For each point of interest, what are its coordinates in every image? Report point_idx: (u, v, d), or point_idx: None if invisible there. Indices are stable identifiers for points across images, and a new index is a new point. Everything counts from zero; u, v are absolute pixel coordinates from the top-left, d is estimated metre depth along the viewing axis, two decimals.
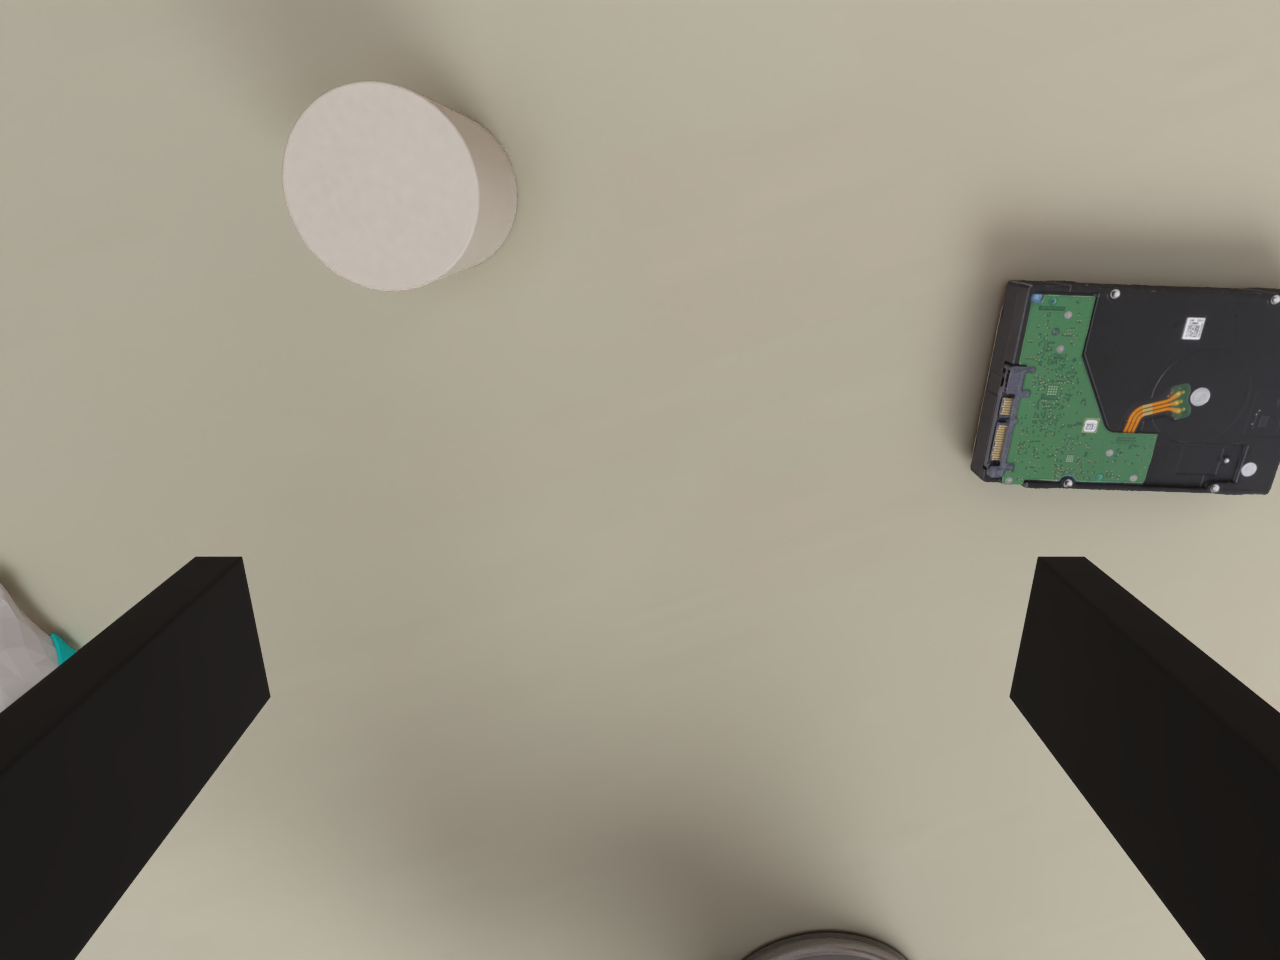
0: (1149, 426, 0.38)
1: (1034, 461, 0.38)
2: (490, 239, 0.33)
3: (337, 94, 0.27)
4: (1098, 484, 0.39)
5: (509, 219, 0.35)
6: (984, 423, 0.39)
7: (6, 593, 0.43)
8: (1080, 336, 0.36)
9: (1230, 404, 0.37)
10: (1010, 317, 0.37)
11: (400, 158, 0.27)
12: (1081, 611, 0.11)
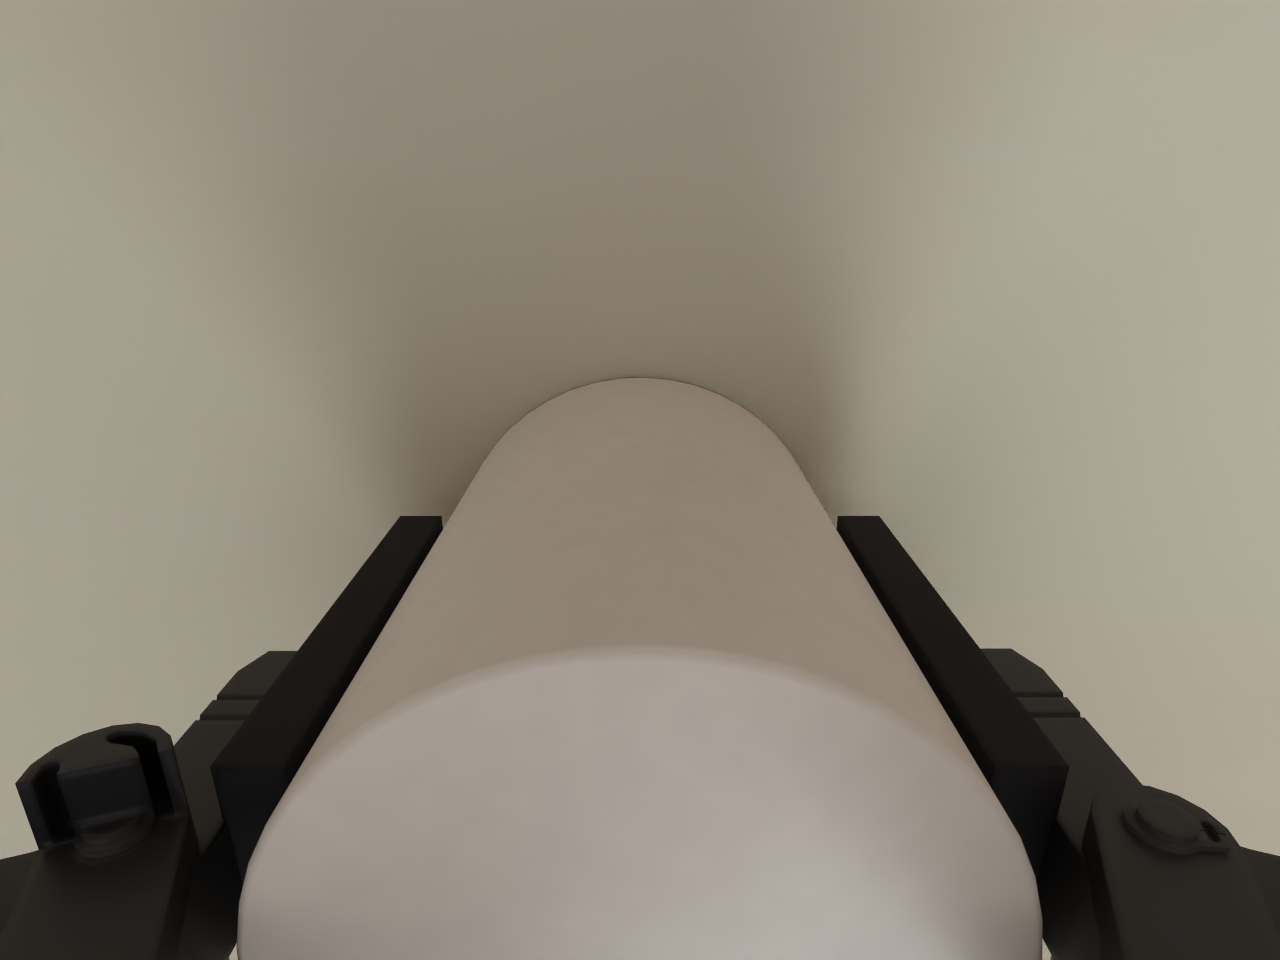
0: None
1: None
2: None
3: (657, 679, 0.06)
4: None
5: None
6: None
7: None
8: None
9: None
10: None
11: (777, 939, 0.07)
12: (857, 560, 0.13)
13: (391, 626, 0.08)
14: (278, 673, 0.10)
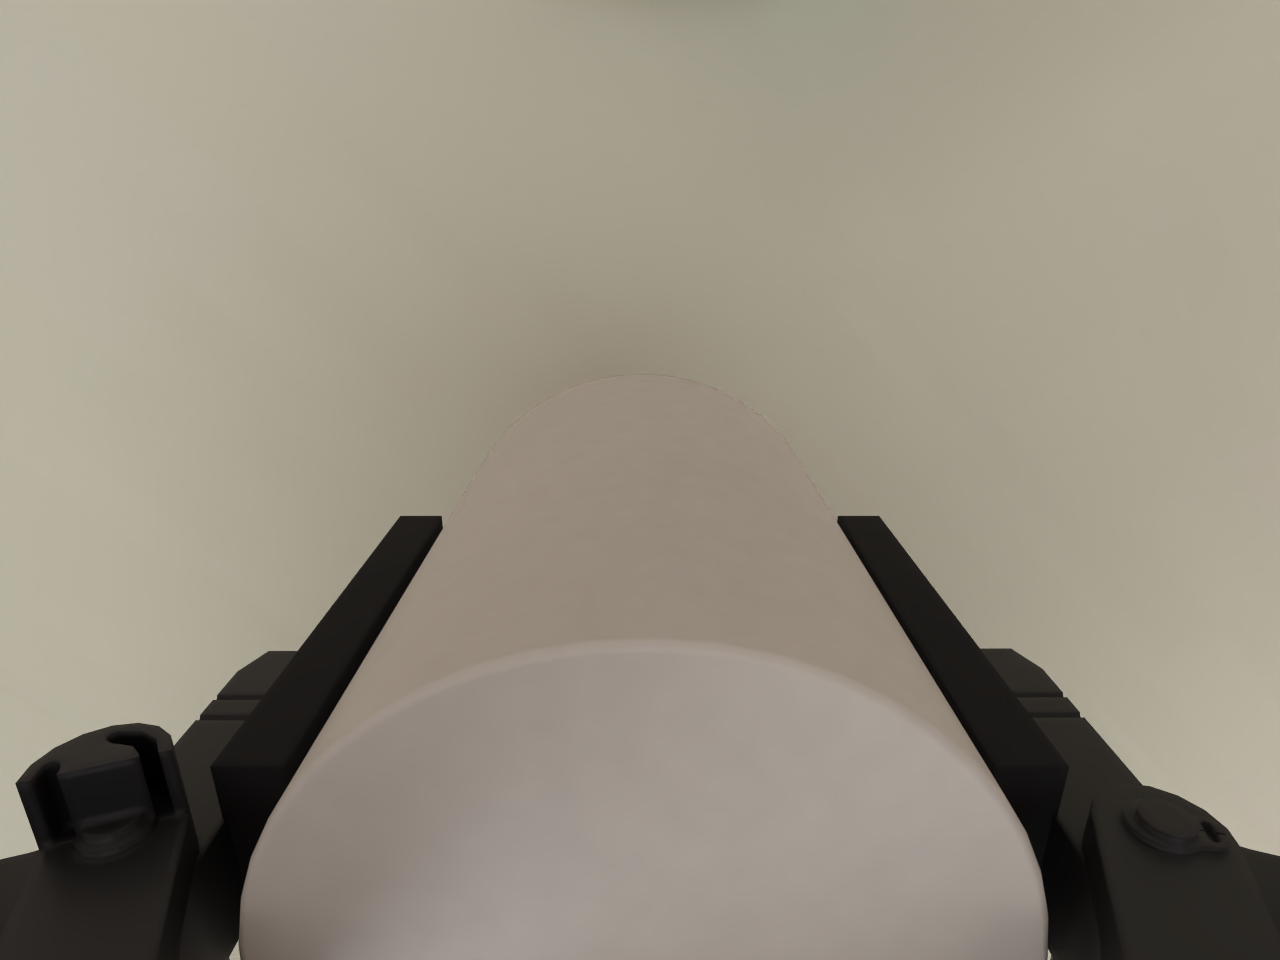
0: None
1: None
2: None
3: (662, 673, 0.06)
4: None
5: None
6: None
7: None
8: None
9: None
10: None
11: (781, 935, 0.07)
12: None
13: (393, 621, 0.08)
14: (278, 673, 0.10)
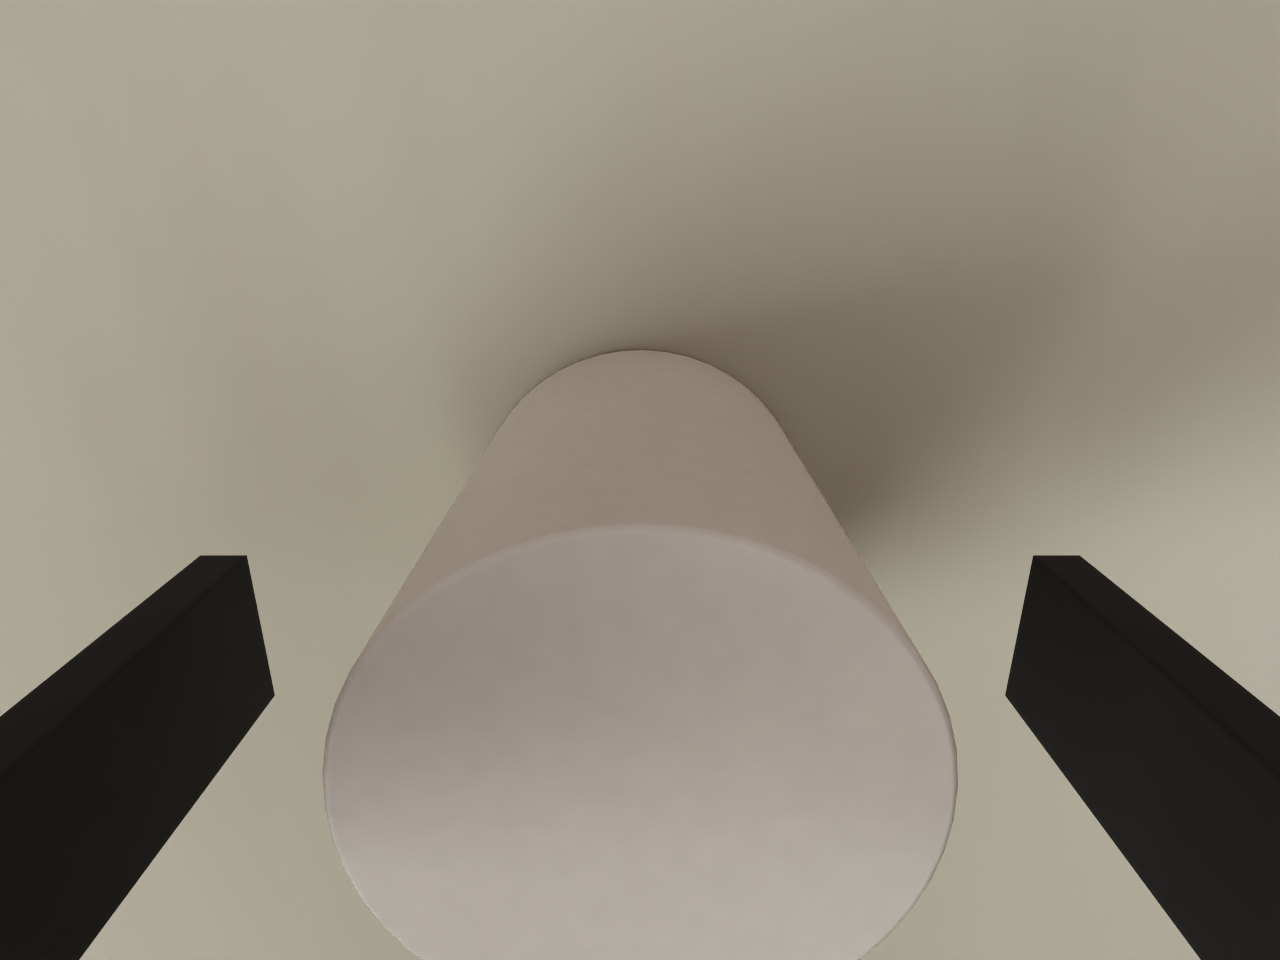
0: None
1: None
2: None
3: (654, 549, 0.07)
4: None
5: None
6: None
7: None
8: None
9: None
10: None
11: (748, 767, 0.08)
12: (1075, 609, 0.11)
13: (437, 538, 0.10)
14: None
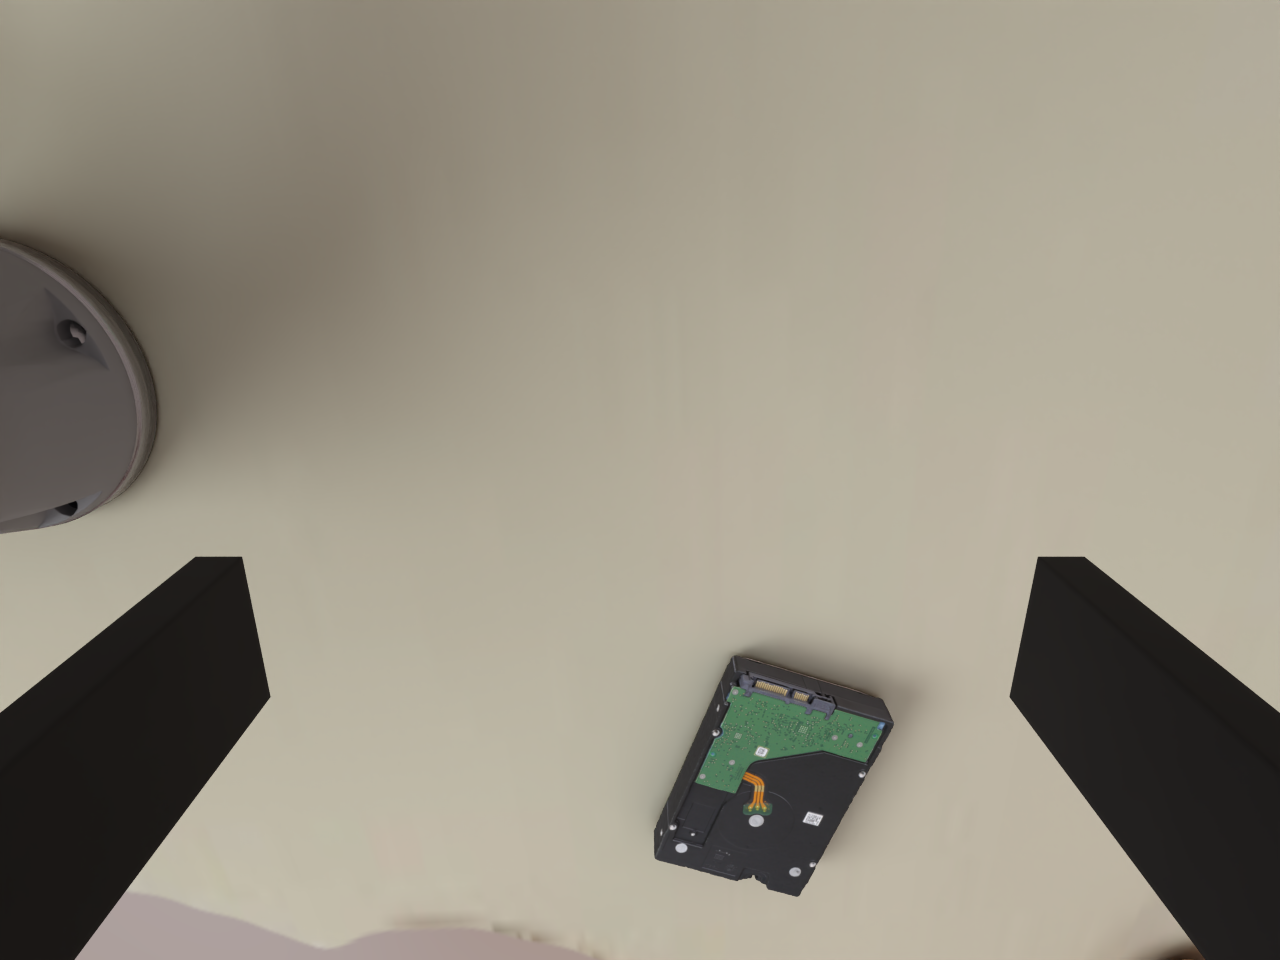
0: (744, 789, 0.46)
1: (746, 711, 0.44)
2: None
3: None
4: (706, 753, 0.45)
5: None
6: (778, 673, 0.45)
7: None
8: (838, 750, 0.45)
9: (742, 838, 0.48)
10: (864, 702, 0.45)
11: None
12: (1081, 611, 0.11)
13: None
14: None
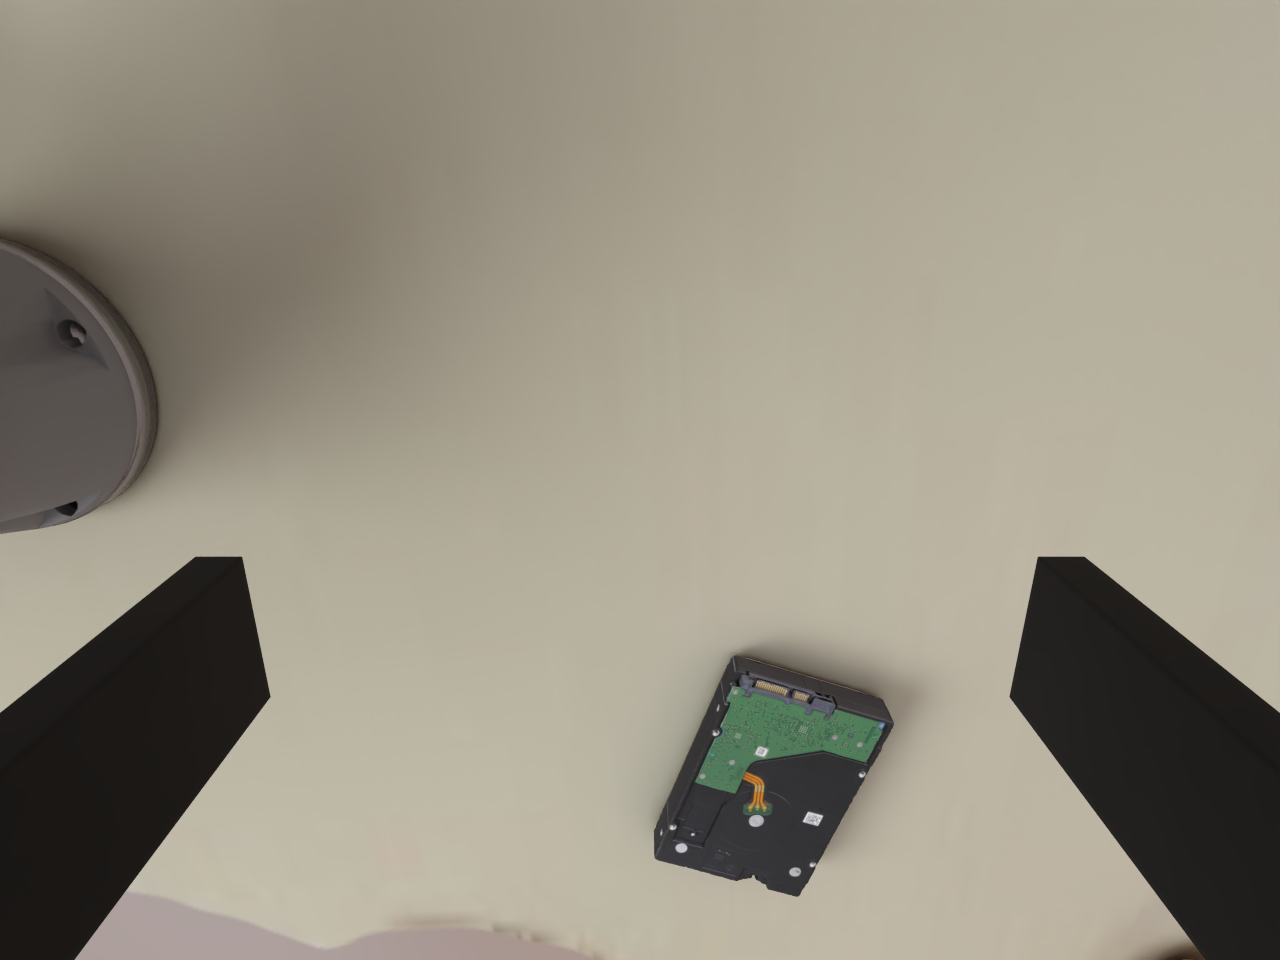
0: (744, 789, 0.46)
1: (746, 711, 0.44)
2: None
3: None
4: (706, 753, 0.45)
5: None
6: (778, 673, 0.45)
7: None
8: (838, 750, 0.45)
9: (742, 838, 0.48)
10: (864, 702, 0.45)
11: None
12: (1081, 611, 0.11)
13: None
14: None
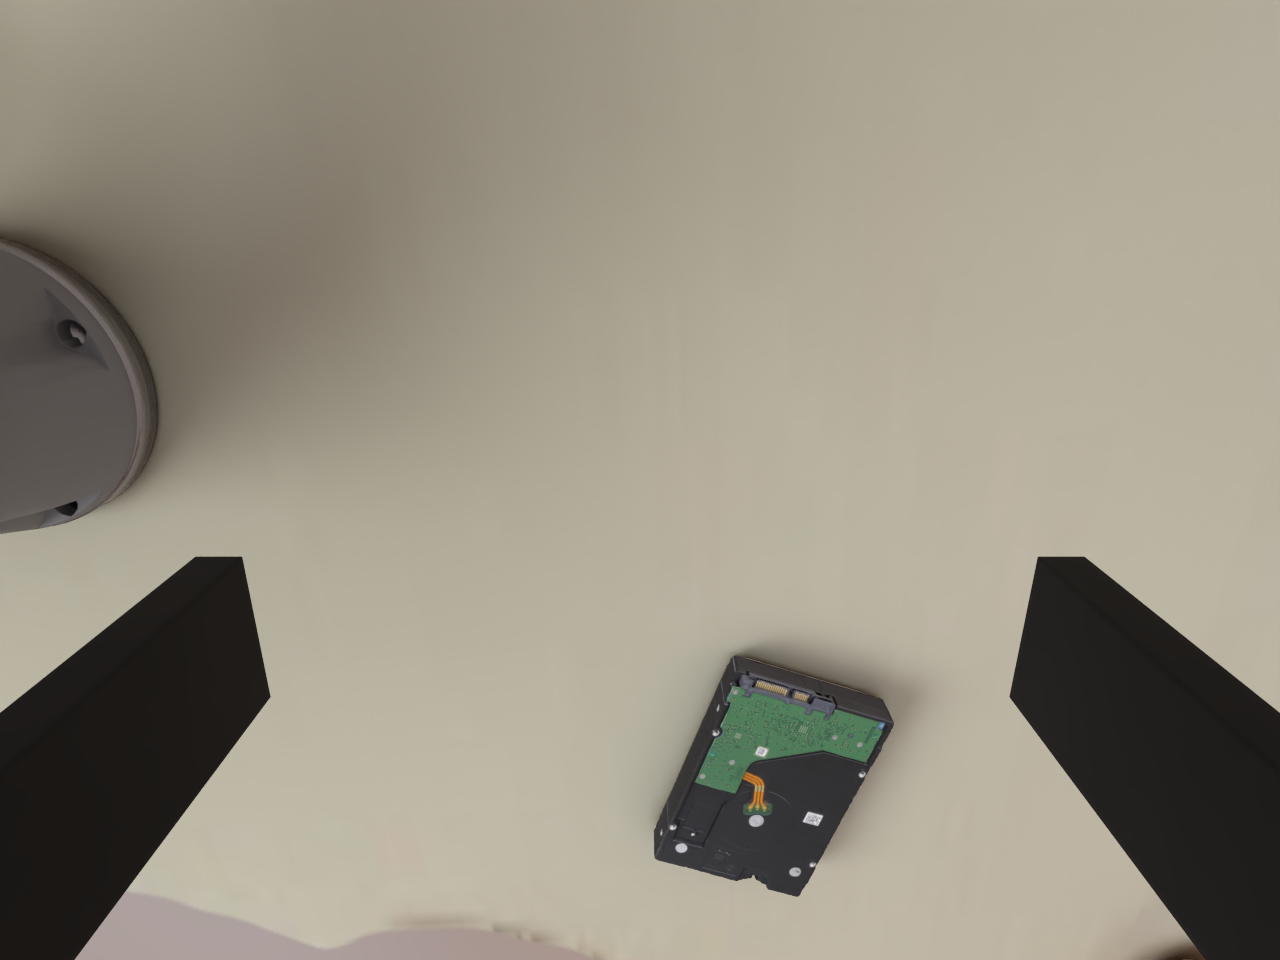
0: (744, 789, 0.46)
1: (746, 711, 0.44)
2: None
3: None
4: (706, 753, 0.45)
5: None
6: (778, 673, 0.45)
7: None
8: (838, 750, 0.45)
9: (742, 838, 0.48)
10: (864, 702, 0.45)
11: None
12: (1081, 611, 0.11)
13: None
14: None
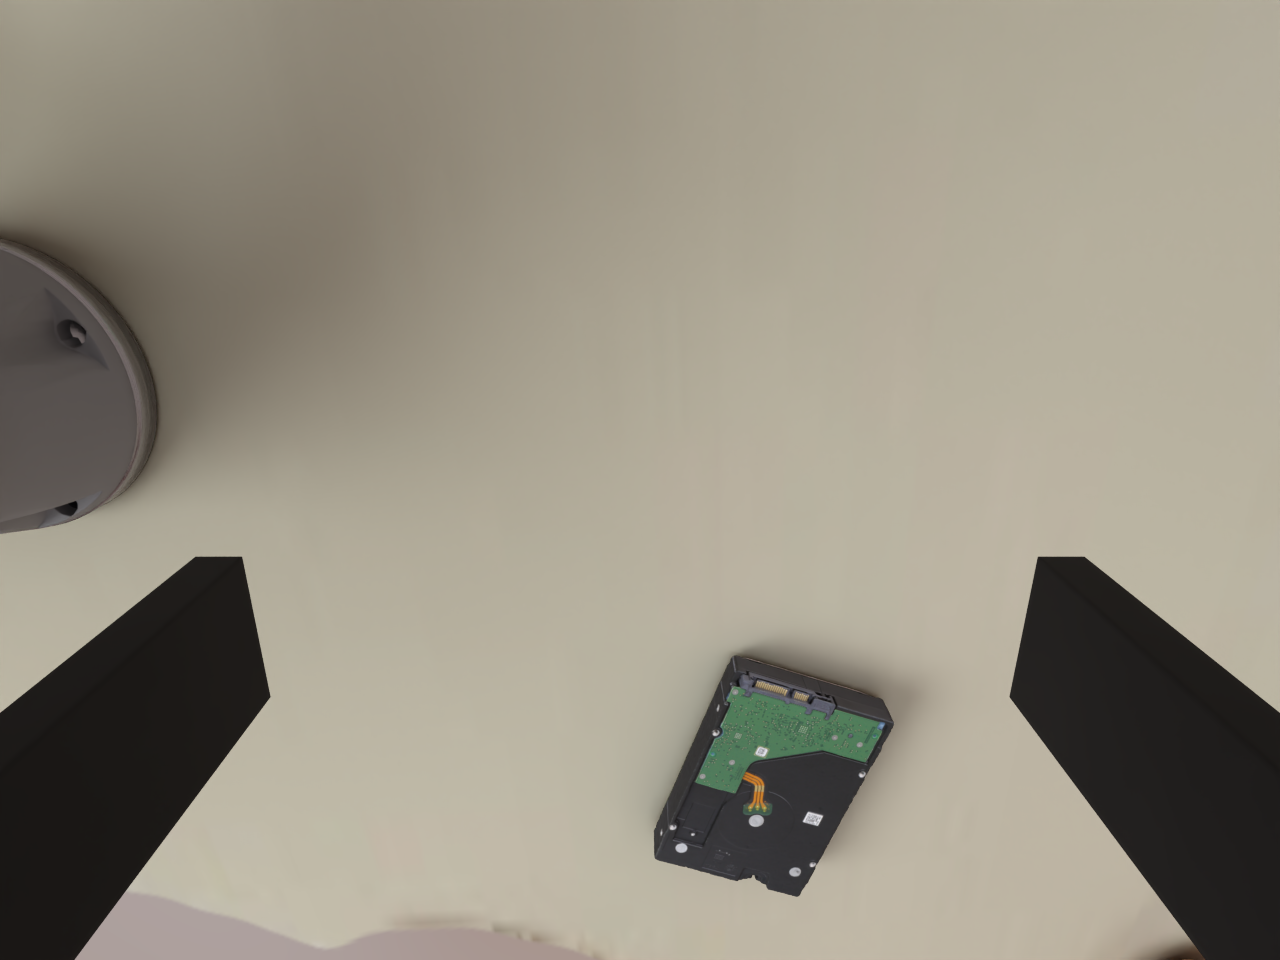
0: (744, 789, 0.46)
1: (746, 711, 0.44)
2: None
3: None
4: (706, 753, 0.45)
5: None
6: (778, 673, 0.45)
7: None
8: (838, 750, 0.45)
9: (742, 838, 0.48)
10: (864, 702, 0.45)
11: None
12: (1081, 611, 0.11)
13: None
14: None
